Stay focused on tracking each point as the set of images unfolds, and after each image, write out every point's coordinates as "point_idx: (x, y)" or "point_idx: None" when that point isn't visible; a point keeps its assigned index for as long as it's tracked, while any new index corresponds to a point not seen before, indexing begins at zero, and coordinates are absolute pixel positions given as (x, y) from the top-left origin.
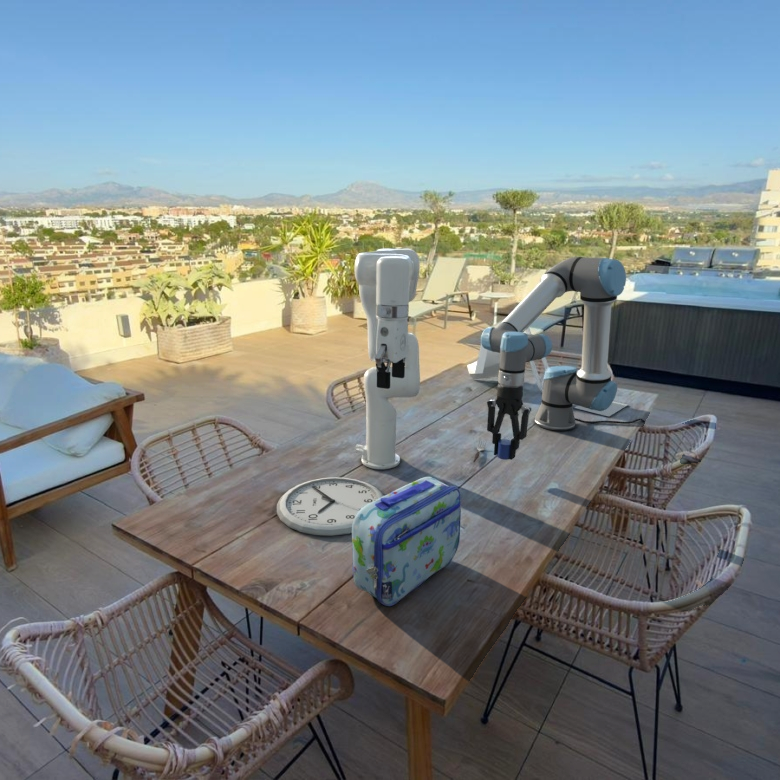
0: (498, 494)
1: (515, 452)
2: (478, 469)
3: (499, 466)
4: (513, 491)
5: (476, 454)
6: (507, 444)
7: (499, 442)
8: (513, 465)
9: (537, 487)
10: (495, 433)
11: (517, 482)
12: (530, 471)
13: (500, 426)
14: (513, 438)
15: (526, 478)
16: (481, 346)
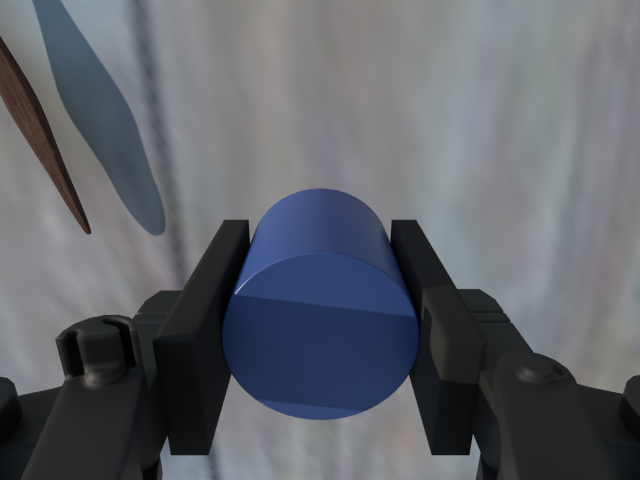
0: (412, 454)
1: (426, 241)
2: (170, 274)
3: (257, 139)
4: None
5: (7, 96)
6: (372, 394)
7: (262, 396)
8: (337, 46)
9: (589, 274)
10: (156, 478)
11: (458, 287)
12: (492, 67)
13: (128, 478)
14: (447, 400)
15: (495, 201)
16: None
